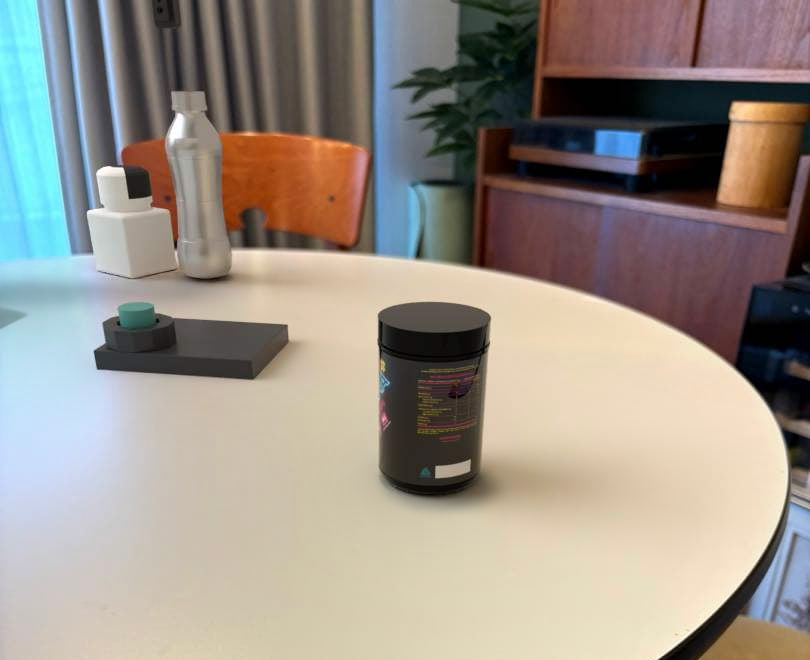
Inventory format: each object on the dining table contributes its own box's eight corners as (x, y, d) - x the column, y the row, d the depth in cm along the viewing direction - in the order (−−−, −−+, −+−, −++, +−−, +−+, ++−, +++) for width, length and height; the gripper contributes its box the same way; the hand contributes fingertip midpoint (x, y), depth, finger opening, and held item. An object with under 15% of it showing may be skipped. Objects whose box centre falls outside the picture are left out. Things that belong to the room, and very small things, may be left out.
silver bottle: (214, 269, 105) (196, 90, 95) (245, 278, 101) (229, 92, 91) (169, 276, 101) (145, 91, 91) (199, 286, 97) (178, 93, 87)
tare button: (114, 330, 71) (111, 309, 70) (130, 320, 73) (127, 301, 72) (148, 332, 70) (144, 311, 69) (162, 322, 73) (159, 302, 72)
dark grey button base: (96, 369, 71) (89, 329, 69) (149, 333, 81) (144, 297, 79) (252, 380, 69) (249, 339, 68) (289, 341, 79) (286, 304, 77)
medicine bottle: (141, 261, 108) (127, 161, 102) (178, 269, 105) (165, 166, 99) (95, 271, 103) (77, 166, 97) (132, 279, 100) (115, 171, 94)
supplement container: (443, 446, 58) (448, 296, 53) (502, 483, 53) (515, 322, 48) (359, 467, 55) (356, 310, 50) (414, 509, 50) (417, 339, 45)
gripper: (136, -183, 79) (161, 30, 88) (63, -222, 68) (100, 25, 77) (210, -185, 78) (228, 30, 87) (149, -226, 67) (176, 26, 76)
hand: (168, 27), depth 82 cm, fingers closed
